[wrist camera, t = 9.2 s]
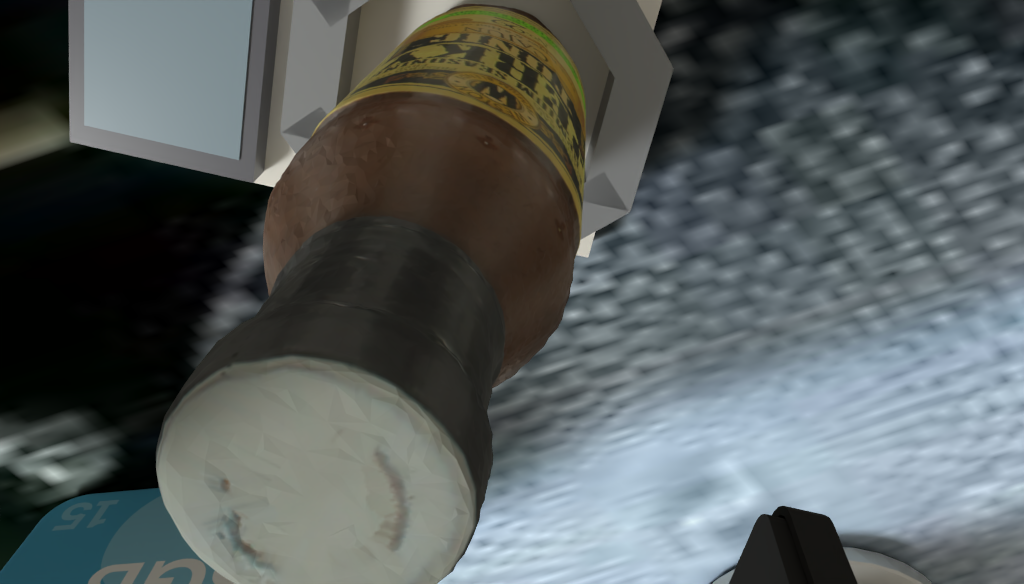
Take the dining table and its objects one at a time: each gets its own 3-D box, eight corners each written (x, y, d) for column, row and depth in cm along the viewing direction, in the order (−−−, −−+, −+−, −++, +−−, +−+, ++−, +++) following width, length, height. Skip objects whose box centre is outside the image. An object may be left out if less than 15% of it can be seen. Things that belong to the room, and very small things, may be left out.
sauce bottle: (620, 54, 27) (716, 444, 10) (526, 216, 30) (468, 754, 12) (435, -48, 26) (163, 180, 9) (355, 130, 29) (23, 583, 11)
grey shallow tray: (693, -59, 27) (709, -49, 24) (598, 262, 32) (602, 301, 29) (90, -207, 26) (32, -215, 23) (89, 148, 31) (42, 177, 28)
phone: (292, -113, 26) (279, -112, 25) (264, 171, 30) (252, 183, 29) (88, -163, 25) (65, -164, 24) (87, 131, 29) (68, 142, 28)
